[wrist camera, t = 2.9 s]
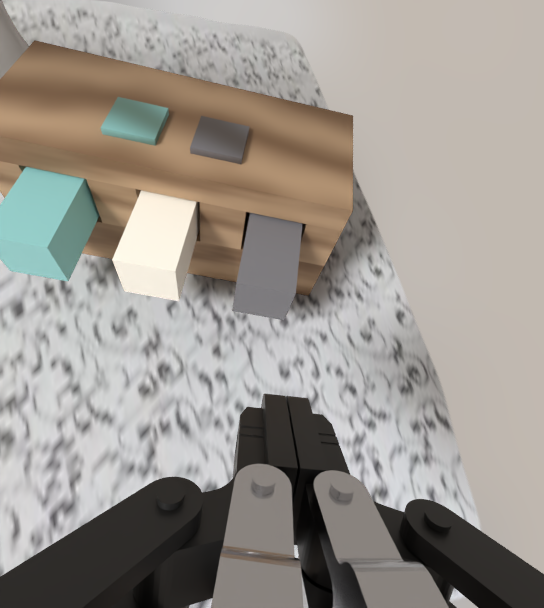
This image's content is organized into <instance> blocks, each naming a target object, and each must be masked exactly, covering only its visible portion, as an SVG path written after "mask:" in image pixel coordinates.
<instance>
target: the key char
mask: <svg viewBox="0 0 544 608" xmlns="http://www.w3.org/2000/svg"><path fill="white" fill-rule="evenodd" d="M301 234H302V223H298V222H294V221H289V220H284V219H279V218H274V217H269V216H264V215H260V214H255V213H250V216H249V221H248V226H247V231H246V237H245V242H244V247H243V252H242V257H241V262H240V267H239V272H238V277H237V283H236V289H235V296H234V303H233V309H232V311H236V312H242V313H247V314H253V315H259V316H264V317H270V318H275V319H281V320H284V319H285V317H286V315H287V312H288V310H289V308H290V306H291V304H292V301H293V299H294V297H295V295H296V286H297V276H298V265H299V255H300V244H301Z"/></svg>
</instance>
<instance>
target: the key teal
mask: <svg viewBox="0 0 544 608" xmlns="http://www.w3.org/2000/svg"><path fill="white" fill-rule="evenodd" d="M99 216H100V215H99V212H98V209H97V207H96V204H95V201H94V199H93V196H92V193H91V190H90V188H89V185H88V182H87V180H86V179H84V178H80V177H75V176H70V175H65V174H60V173H55V172H50V171H46V170H41V169H36V168H31V167H26V168H25V169H24V170H23V172H22V173H21V175H20V176H19V178H18V179H17V181H16V182H15V184H14V185H13V187H12V188H11V190H10V191H9V193H8V194H7V196H6V197H5V199H4V200H3V202H2V203H1V205H0V259H1V260H2V261H3V263H4V264H5V265H6V266H7V267H8V268H9V270H10V271H14V272H20V273H25V274H31V275H36V276H42V277H47V278H53V279H58V280H64V281H69V279H70V277H71V275H72V272H73V270H74V268H75V266H76V264H77V262H78V260H79V258H80V256H81V254H82V251H83V249H84V247H85V245H86V243H87V241H88V239H89V237H90V235H91V233H92V230H93V228H94V226H95V224H96V222H97V220H98V218H99Z"/></svg>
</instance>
